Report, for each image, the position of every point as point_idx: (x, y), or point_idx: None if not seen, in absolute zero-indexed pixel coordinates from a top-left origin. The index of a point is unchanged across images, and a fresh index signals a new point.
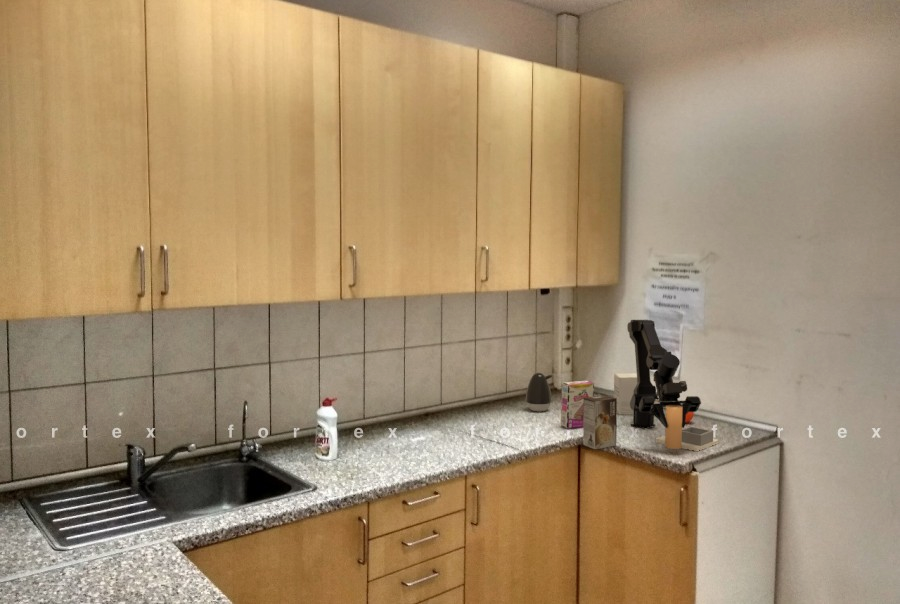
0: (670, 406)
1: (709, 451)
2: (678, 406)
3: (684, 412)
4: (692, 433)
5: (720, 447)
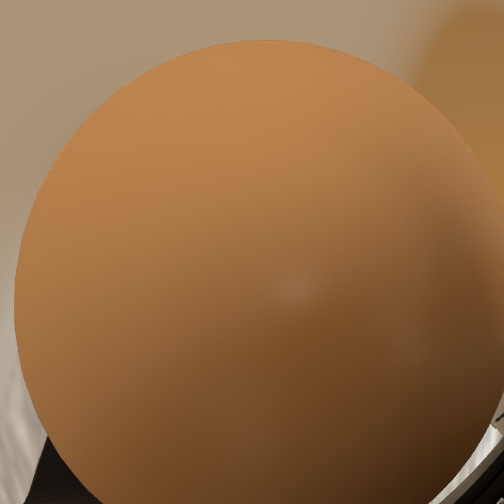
0: (450, 252)
1: (25, 405)
2: (187, 372)
3: None
4: None
5: (4, 478)
